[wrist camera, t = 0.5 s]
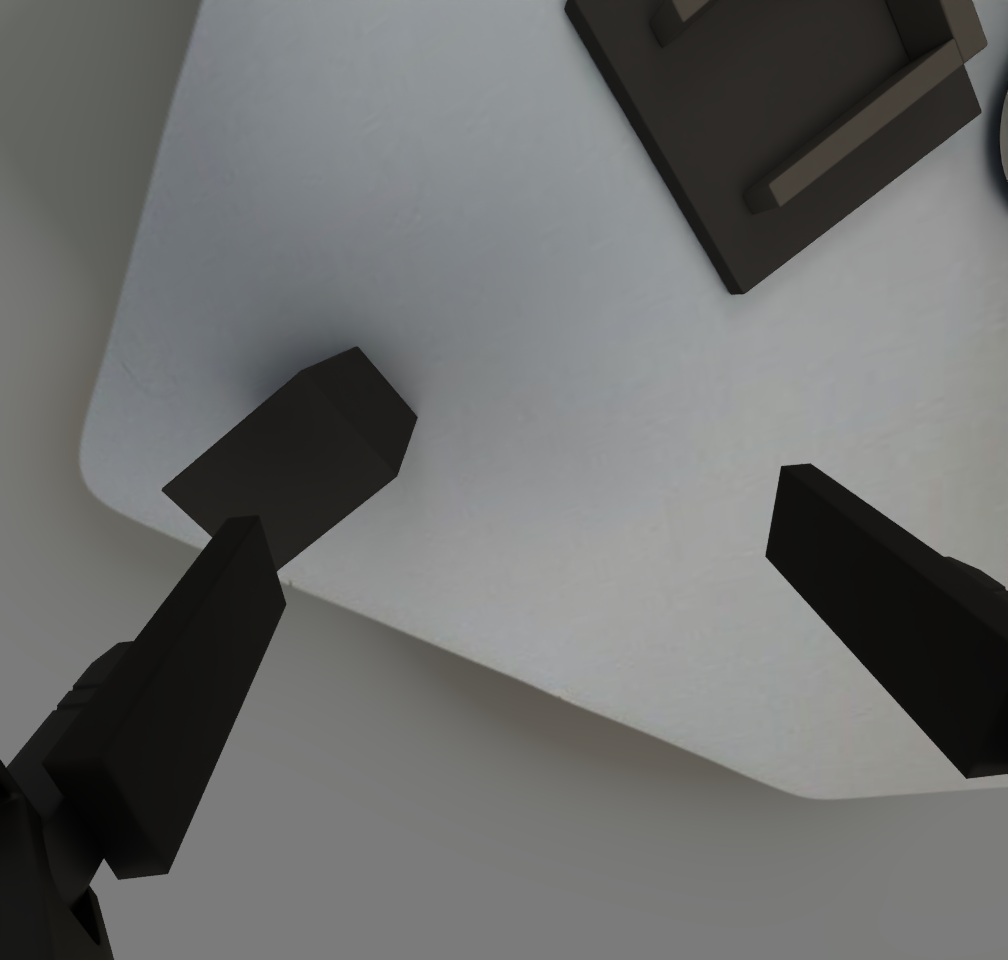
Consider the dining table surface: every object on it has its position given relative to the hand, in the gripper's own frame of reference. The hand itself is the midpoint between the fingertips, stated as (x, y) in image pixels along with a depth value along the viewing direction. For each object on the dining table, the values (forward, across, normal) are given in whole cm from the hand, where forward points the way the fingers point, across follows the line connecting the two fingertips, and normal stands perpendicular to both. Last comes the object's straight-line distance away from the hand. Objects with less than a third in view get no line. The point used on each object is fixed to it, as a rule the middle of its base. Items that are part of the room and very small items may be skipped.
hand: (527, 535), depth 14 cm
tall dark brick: (+18, -9, -2) cm, 20 cm away
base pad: (+20, +15, +13) cm, 28 cm away
